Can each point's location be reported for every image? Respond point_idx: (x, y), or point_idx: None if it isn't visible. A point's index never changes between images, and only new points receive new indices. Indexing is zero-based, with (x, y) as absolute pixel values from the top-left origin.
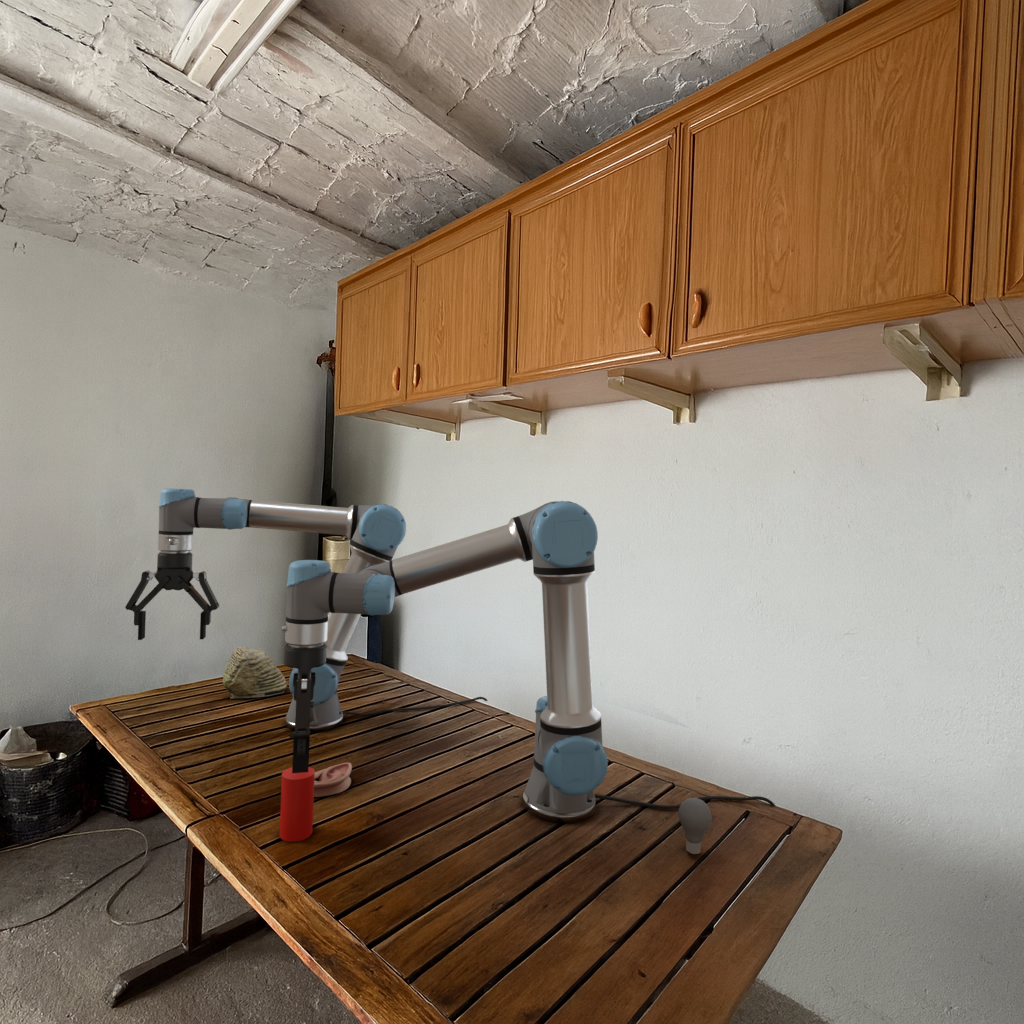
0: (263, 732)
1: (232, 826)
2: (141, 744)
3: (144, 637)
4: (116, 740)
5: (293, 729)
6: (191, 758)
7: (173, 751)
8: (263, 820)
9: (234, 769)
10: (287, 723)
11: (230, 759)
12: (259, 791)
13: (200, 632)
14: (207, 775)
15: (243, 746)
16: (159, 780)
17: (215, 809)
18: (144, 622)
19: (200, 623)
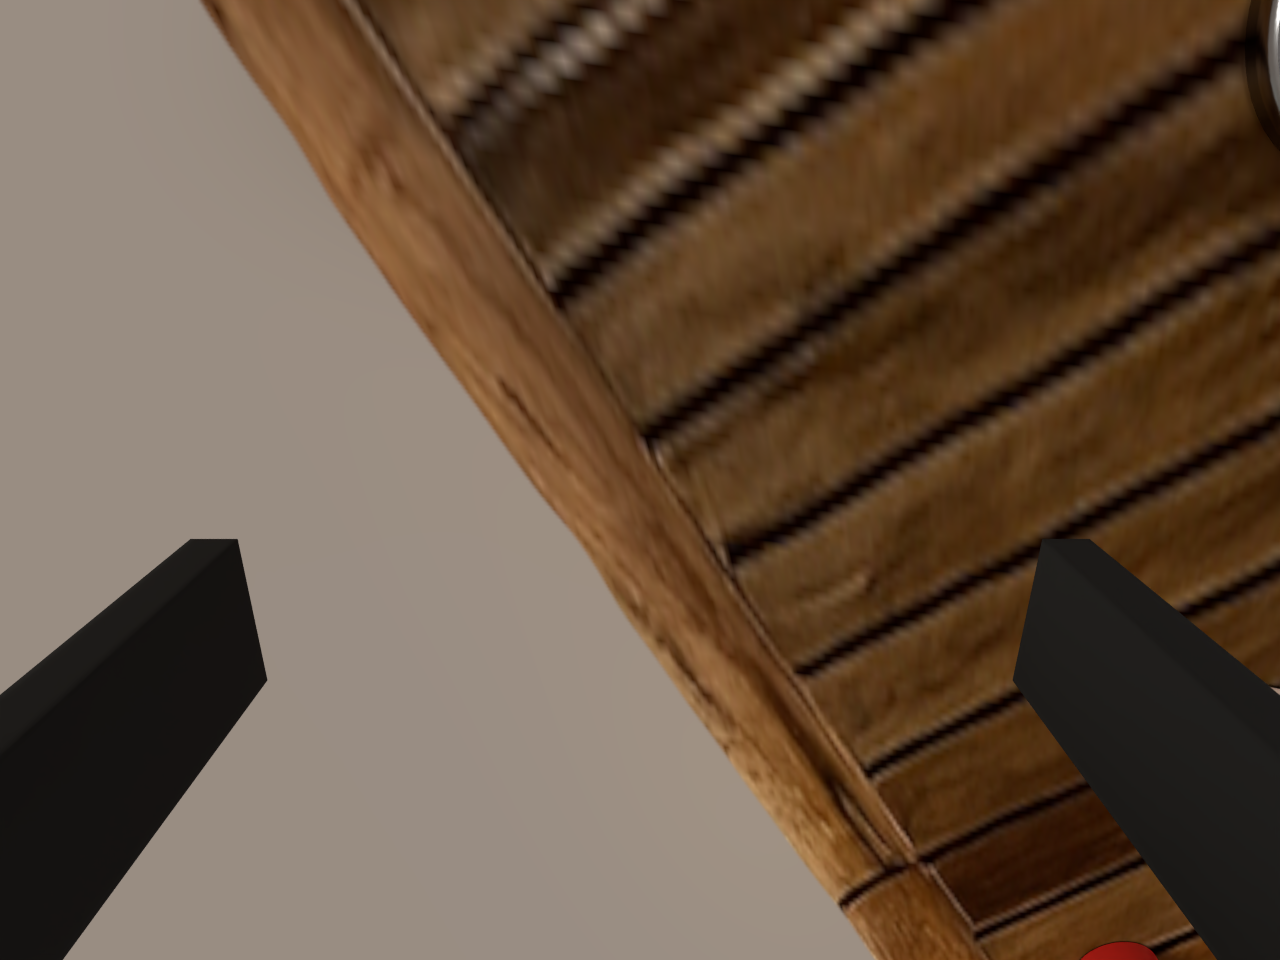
0: (1100, 142)
1: (955, 922)
2: (492, 246)
3: (238, 557)
4: (341, 167)
5: (1274, 143)
6: (768, 454)
7: (672, 362)
8: (1037, 907)
9: (952, 584)
10: (1265, 80)
11: (933, 487)
12: (1037, 757)
13: (1069, 748)
14: (855, 622)
15: (989, 342)
16: (689, 639)
17: (904, 840)
18: (94, 738)
19: (1153, 864)
